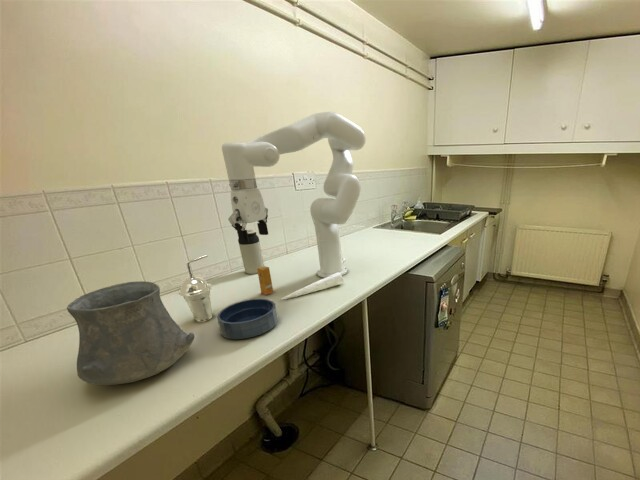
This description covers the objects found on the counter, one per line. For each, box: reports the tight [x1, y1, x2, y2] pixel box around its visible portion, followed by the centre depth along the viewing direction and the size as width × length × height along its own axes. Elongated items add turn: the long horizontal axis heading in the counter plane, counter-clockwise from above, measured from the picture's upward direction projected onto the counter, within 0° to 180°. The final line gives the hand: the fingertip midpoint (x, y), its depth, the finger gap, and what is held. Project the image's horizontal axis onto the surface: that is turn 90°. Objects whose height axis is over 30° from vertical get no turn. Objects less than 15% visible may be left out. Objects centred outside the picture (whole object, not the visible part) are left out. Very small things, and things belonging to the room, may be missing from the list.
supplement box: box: [257, 265, 274, 296], centre depth 114 cm, size 3×3×10 cm
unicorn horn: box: [280, 272, 344, 301], centre depth 115 cm, size 5×24×5 cm, turn 126°
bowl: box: [216, 298, 279, 340], centre depth 92 cm, size 15×15×6 cm
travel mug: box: [236, 228, 265, 275], centre depth 134 cm, size 8×8×18 cm
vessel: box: [66, 280, 195, 386], centre depth 72 cm, size 22×22×20 cm
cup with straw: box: [178, 254, 213, 323], centre depth 95 cm, size 8×9×20 cm
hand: (254, 238), depth 103 cm, fingers open, 9 cm apart
